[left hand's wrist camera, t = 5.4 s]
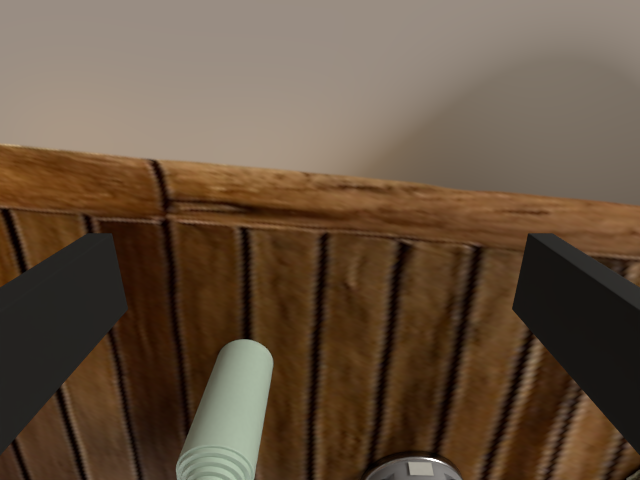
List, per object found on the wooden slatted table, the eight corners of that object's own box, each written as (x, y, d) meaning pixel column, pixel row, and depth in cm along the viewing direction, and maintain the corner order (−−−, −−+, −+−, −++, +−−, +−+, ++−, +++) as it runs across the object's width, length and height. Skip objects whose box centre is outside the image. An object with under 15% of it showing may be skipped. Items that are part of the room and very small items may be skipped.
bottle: (218, 336, 47) (149, 502, 28) (275, 341, 47) (245, 509, 28) (217, 381, 49) (154, 560, 31) (271, 386, 50) (241, 567, 31)
